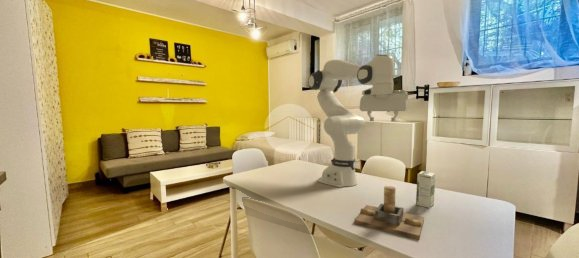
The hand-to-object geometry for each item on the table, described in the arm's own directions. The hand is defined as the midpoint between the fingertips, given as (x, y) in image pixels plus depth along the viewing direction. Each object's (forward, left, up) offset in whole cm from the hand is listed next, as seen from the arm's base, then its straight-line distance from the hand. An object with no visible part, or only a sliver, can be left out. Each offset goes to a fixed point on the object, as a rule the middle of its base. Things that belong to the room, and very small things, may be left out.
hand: (382, 121), depth 112 cm
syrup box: (+18, +4, -37) cm, 42 cm away
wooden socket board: (+8, -21, -37) cm, 43 cm away
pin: (+8, -21, -36) cm, 42 cm away
